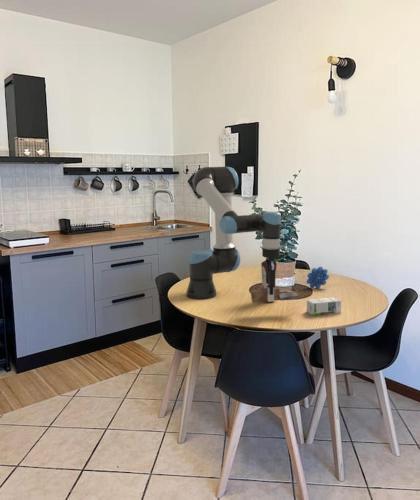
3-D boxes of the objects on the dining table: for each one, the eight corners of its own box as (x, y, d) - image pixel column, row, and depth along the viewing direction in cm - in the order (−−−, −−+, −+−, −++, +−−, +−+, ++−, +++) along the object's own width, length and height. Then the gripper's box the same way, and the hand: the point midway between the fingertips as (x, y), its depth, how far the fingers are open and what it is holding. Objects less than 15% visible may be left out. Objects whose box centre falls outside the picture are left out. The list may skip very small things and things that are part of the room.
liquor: (258, 299, 218) (258, 244, 213) (271, 298, 220) (272, 242, 215) (265, 304, 211) (266, 246, 206) (278, 302, 214) (279, 245, 209)
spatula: (253, 304, 192) (252, 293, 191) (251, 300, 198) (250, 289, 197) (298, 298, 193) (297, 287, 192) (295, 293, 199) (294, 283, 198)
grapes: (326, 286, 241) (327, 264, 239) (329, 289, 234) (330, 267, 232) (305, 286, 242) (305, 264, 240) (307, 289, 235) (307, 267, 233)
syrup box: (312, 303, 193) (342, 300, 197) (306, 299, 199) (335, 296, 202) (312, 315, 194) (341, 312, 198) (306, 311, 200) (334, 308, 203)
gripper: (283, 251, 183) (281, 305, 187) (276, 244, 199) (275, 294, 204) (265, 251, 183) (263, 305, 187) (260, 244, 199) (259, 294, 204)
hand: (269, 299), depth 195 cm, fingers closed on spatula, 4 cm apart
